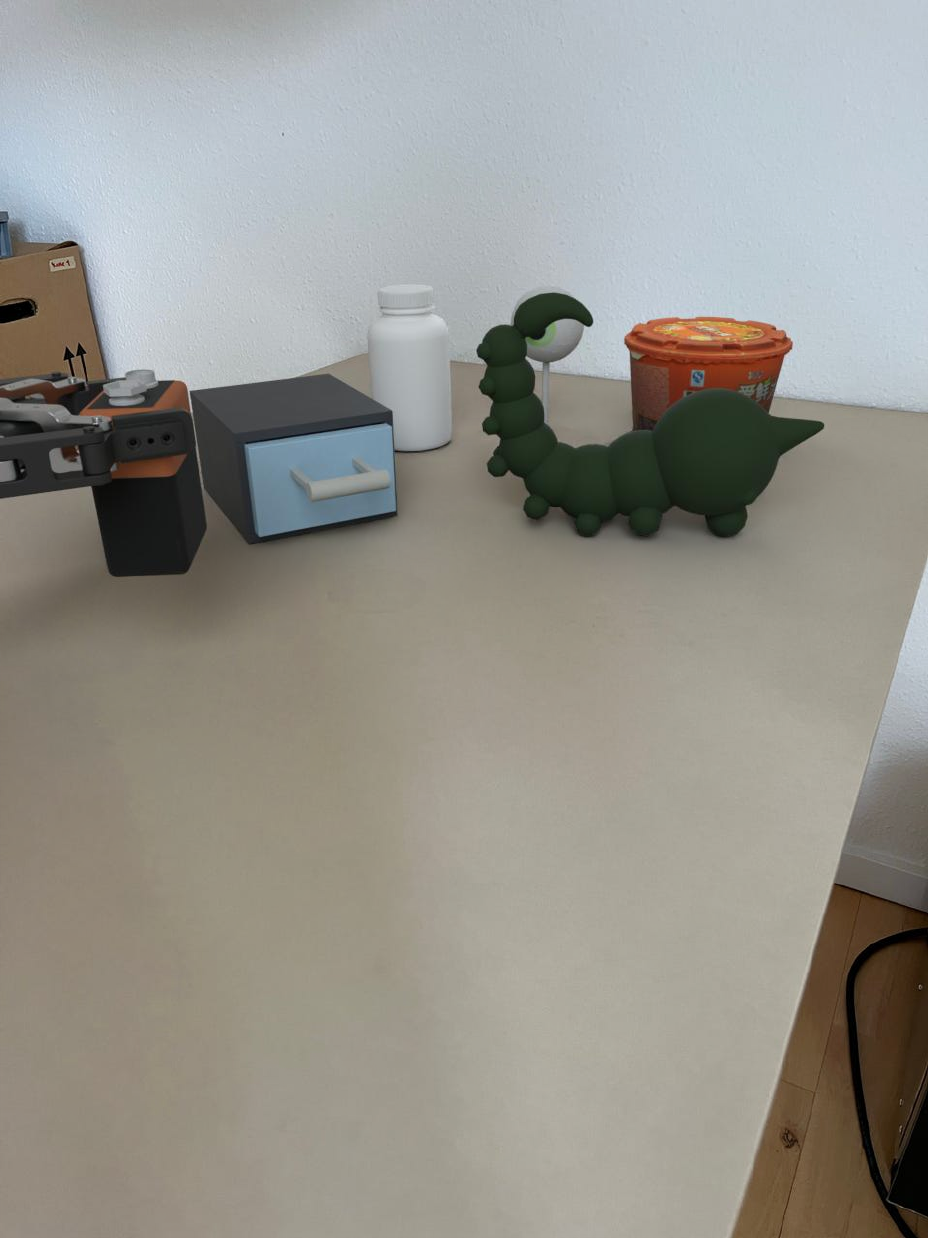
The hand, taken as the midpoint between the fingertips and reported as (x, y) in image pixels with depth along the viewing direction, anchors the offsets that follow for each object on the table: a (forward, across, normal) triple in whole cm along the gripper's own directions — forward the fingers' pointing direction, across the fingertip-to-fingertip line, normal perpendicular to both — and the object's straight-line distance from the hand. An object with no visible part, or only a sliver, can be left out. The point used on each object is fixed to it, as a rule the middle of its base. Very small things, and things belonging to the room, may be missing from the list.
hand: (174, 411), depth 50 cm
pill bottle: (+29, -34, -15) cm, 47 cm away
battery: (-2, 0, -8) cm, 8 cm away
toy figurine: (+35, -4, -15) cm, 38 cm away
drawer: (+13, -19, -14) cm, 27 cm away
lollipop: (+41, -28, -15) cm, 52 cm away
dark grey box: (+13, -23, -15) cm, 31 cm away
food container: (+55, -21, -15) cm, 61 cm away
